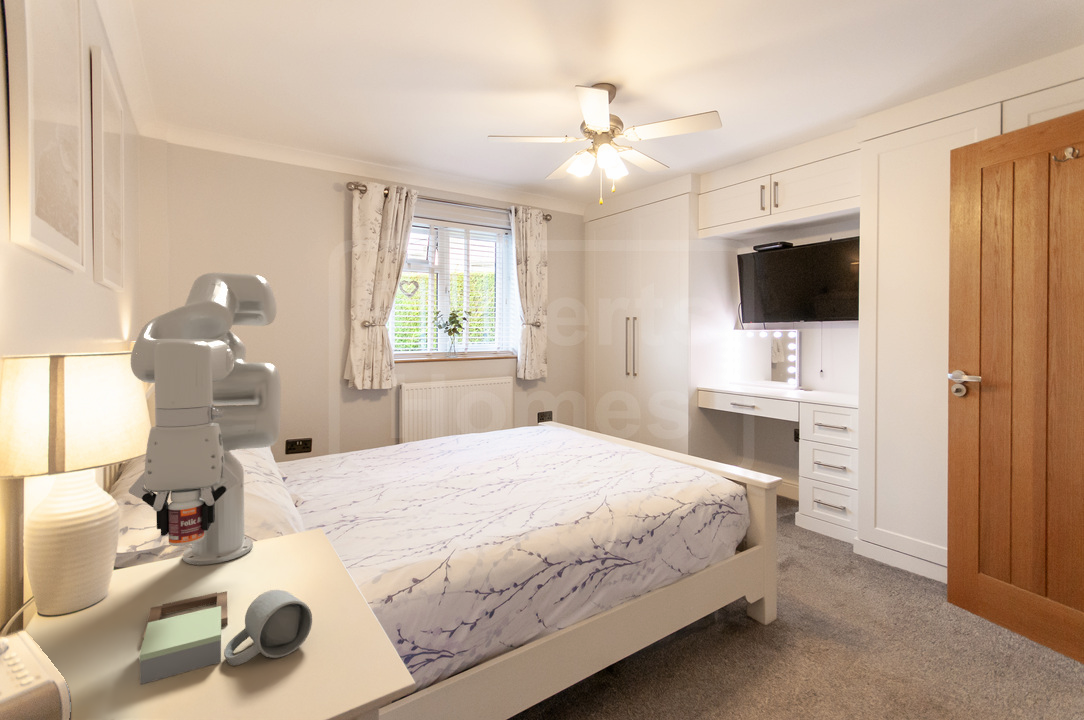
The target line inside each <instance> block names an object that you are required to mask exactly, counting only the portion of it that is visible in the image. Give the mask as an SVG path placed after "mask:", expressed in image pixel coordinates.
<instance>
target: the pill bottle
mask: <svg viewBox="0 0 1084 720" xmlns="http://www.w3.org/2000/svg"><path fill="white" fill-rule="evenodd" d="M200 497H201V488H198V489H187V490H177V491H170V501H171V502H169V503H168V505H169V506H168V534H167V535H168V544H169V545H170V546H172V547H185V546H189V545H192V544H194V543H197V542H199V541H201V540H202V539H203V538H204V530H202V507H203V505H204V501H203V499H201V498H200Z"/></svg>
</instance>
